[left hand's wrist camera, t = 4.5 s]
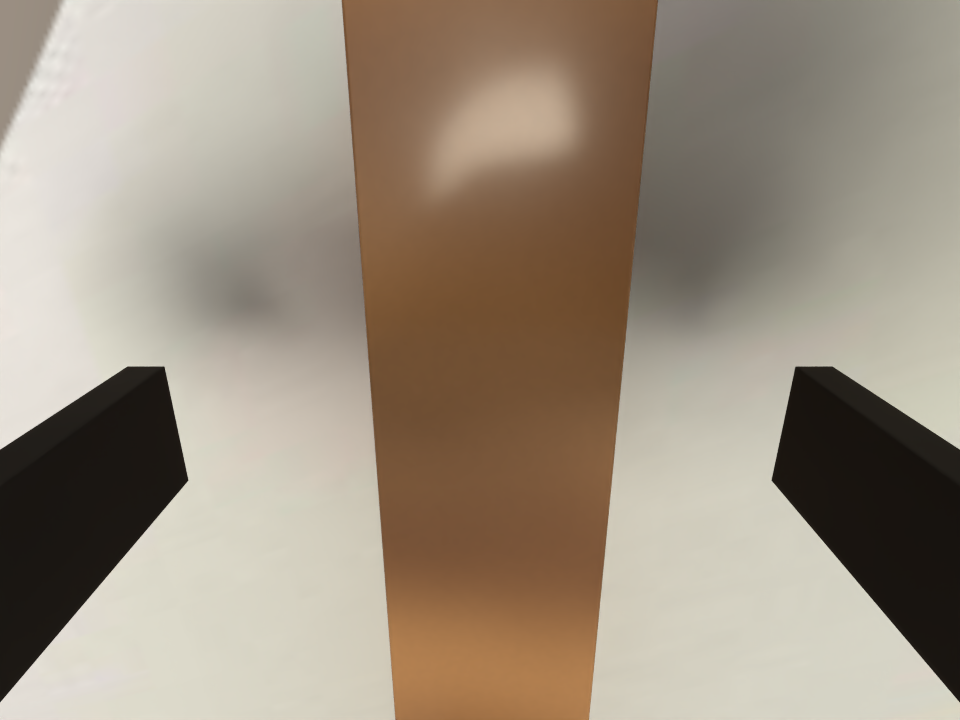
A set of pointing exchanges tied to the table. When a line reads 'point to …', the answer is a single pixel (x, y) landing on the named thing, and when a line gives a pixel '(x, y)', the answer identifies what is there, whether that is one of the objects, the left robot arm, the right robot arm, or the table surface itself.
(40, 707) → the table surface
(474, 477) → the beam
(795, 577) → the table surface
